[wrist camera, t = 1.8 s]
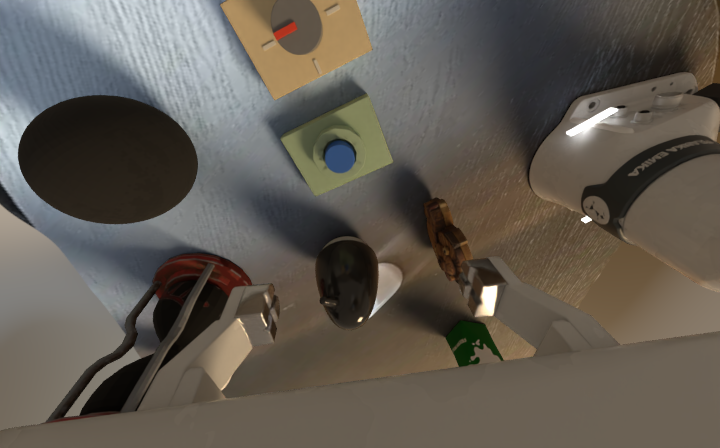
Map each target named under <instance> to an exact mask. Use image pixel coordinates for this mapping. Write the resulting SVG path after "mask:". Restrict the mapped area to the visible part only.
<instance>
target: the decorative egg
mask: <svg viewBox="0 0 720 448" xmlns="http://www.w3.org/2000/svg"><path fill="white" fill-rule="evenodd" d="M18 160H19V165H20V169H21V172H22V174H23V176H24V178H25V180H26V182H27V183H28V185H29V186H30V187H31V189H32V190H33V191H34V192H35V193H36V194H37V195H38V196H39V197H40V198H41V199H42V200H44V201H45V202H46V203H48V204H49V205H51V206H52V207H54V208H55V209H57V210H59V211H61V212H63V213H65V214H68V215H70V216H73V217H75V218H78V219H82V220H86V221H90V222H95V223H103V224H127V223H135V222H140V221H144V220H148V219H151V218H154V217H157V216H159V215H161V214H163V213H165V212H167V211H169V210H170V209H172V208H173V207H175V206H176V205H177V204H179V203H180V202H181V201H182V200H183V199H184V198H185V197H186V195H187V194H188V193H189V191H190V190H191V188H192V186H193V184H194V182H195V179H196V175H197V169H198V161H197V155H196V151H195V148H194V145H193V143H192V141H191V140H190V138H189V136H188V135H187V133H186V132H185V131H184V130H183V129H182V127H181V126H180V125H179V124H178V123H177V122H175V121H174V120H173V119H172V118H171V117H169V116H168V115H166V114H165V113H163V112H162V111H160V110H158V109H156V108H154V107H152V106H150V105H148V104H145V103H142V102H139V101H136V100H133V99H129V98H124V97H118V96H108V95H92V96H83V97H77V98H73V99H69V100H66V101H63V102H60V103H58V104H56V105H54V106H52V107H50V108H48V109H46V110H44V111H43V112H42V113H40V114H39V115H38V116H37V117H35V118H34V119H33V121H32V122H31V123H30V124H29V125H28V126H27V128H26V129H25V131H24V133H23V135H22V137H21V140H20V143H19V148H18Z"/></svg>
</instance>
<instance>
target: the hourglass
mask: <svg viewBox="0 0 720 448" xmlns="http://www.w3.org/2000/svg"><path fill="white" fill-rule="evenodd" d="M152 282H153V285H152V286H151V287H150V288H149V290H148V291H147V292H146V293H145V295H144V296H143V297H142V299H141V300H140V301H139V302H138V304H137V305H136V306H135V308H134V309H133V310H132V311H131V313H130V314H129V315H128V317H127V318H126V322H125V329H126V333H127V334H126V336H125V338H124V340H123V343H122V344H121V345H120V346H119V347H118V348H117V349H116V350H115V351H114V352H113V353H111V354H109V355H107V356H105V357H103V358H101V359H99V360H98V361H96V362H95V363H94V364H93V365H91V366H90V367H89V368H88V369H86V371H85V372H84V373H83V375H82V376H81V377H80V378H79V380H78V381H77V382H76V383H75V385H74V386H73V387H72V389H71V390H70V391H69V393H68V394H67V395H66V396H65V398H64V399H63V400H62V402H61V403H60V404H59V405H58V407H57V408H56V409H55V411H54V412H53V413H52V414H51V416H50V417H49V418H48V420H47V421H46V422H45V423H52V422H60V421H67V420H74V419H82V418H89V417H96V416H104V415H111V414H118V413H126V412H133V411H137V409H138V408H139V406H140V404H141V402H142V400H143V398H144V397H145V395H146V393H147V391H148V389H149V387H150V386H151V384H152V382H153V380H154V378H155V376H156V374H157V373H158V371H159V370H160V369H161V368H163V367H164V366H165V365H166V364H167V363H168V362H169V361H170V360H172V359H173V358H174V357H175V356H176V355H177V354H178V353H180V352H181V351H182V350H183V349H184V348H185V347H186V346H187V345H189V344H190V343H191V342H192V341H193V340H194V339H195V338H196V337H198V336H199V335H200V334H201V333H202V332H203V331H204V330H206V329H207V328H208V327H209V326H210V325H211V324H212V323H213V322H215V321H217V320H220V317H221V315H222V313H223V310H224V308H225V305H226V303H227V301H228V298H229V296H230V293H231V291H232V289H233V288H234V287H238V286H247V285H252V283H251V280H250V278H249V277H248V276H247V275H246V274H245V272H244V271H243V270H242V269H240V268H239V267H238V266H236V265H235V264H233V263H232V262H230V261H228V260H225V259H222V258H220V257H217V256H214V255H208V254H201V253H192V254H182V255H179V256H176V257H173V258H170V259H169V260H168V261H166V262H165V263H164V264H163V265H161V266H160V268H159V269H158V270H157V271H156V274H155V276H154V278H153V281H152ZM154 294H156V295H157V297H158V298H159V301H158V303H157V305H156V307H155V310H154V312H153V323H154V328H155V331H156V334H157V336H158V338H159V340H160V342H161V344H160V345H159V347H158V348H157V350H156V352H155V353H154V354H152V355H149V356H146V357H144V358H141V359H139V360H137V361H135V362H133V363H131V364H129V365H126V366H124V367H123V368H121V369H120V370H119V371H117V372H116V373H114V374H113V375H112V376H110V377H109V378H108V379H106V380H105V381H103V383H102V384H101V385H100V386H99V387H98V388H97V389H96V391H95V392H94V393H93V394H92V395H91V397H90V398H89V400H88V401H87V402H86V404H85V405H84V407H83V408H82V410H81V413H80V415H79V416H72V417H64V416H65V415H66V413H67V412H68V410H69V409H70V408H71V406H72V405H73V404H74V402H75V401H76V400H77V398H78V397H79V396H80V394H81V393H82V392H83V390H84V389H85V387H86V386H87V385H88V383H89V382H90V381H91V379H92V378H93V377H94V375H95V374H96V373H97V372H98V371H100V370H101V369H102V368H103V367H105V366H106V365H107V364H109V363H111V362H113V361H116V360H118V359H120V358H121V357H122V356H123V355H125V354H126V353H127V352H128V351H129V350H130V349H131V348H132V347H133V346H134V344H135V341H136V338H137V335H138V333H137V330H136V328H135V324H136V318H137V317H138V316H139V314H140V313H141V312H142V310H143V309H144V308H145V306H146V305H147V304H148V302H149V301H150V299H151V298H152V297H153V295H154ZM45 423H41V424H45Z"/></svg>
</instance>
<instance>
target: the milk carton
mask: <svg viewBox="0 0 720 448" xmlns="http://www.w3.org/2000/svg"><path fill="white" fill-rule="evenodd" d="M446 340H447V342H448V344H449V346H450V348H451V350H452V352H453V354H454V356H455V358H456V360H457V363H458V365H459V367H462V366H469V365H477V364H484V363H491V362H499V361H504V360H503V358H502V356H501V354H500V353H499V351H498V349H497V347H496V346H495V344H494V342H493V340H492V338H491V336H490V334H489V332H488V329H487V327H486V325H485V324H479V323H473V322H467V321H462V320H460V321H459V322H458V324H457V325H456V326H455V327H454V328H453V330H452V331H451V332H450V333H449V334H448V335H447V337H446Z"/></svg>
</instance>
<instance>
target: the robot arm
mask: <svg viewBox="0 0 720 448" xmlns="http://www.w3.org/2000/svg"><path fill="white" fill-rule="evenodd" d="M590 103H591V105H590ZM589 105H590V106H589ZM718 132H720V84H717V83H712V84H711V85H709V86H707V87H705V88H703V89H701V90H699V91H698V86H697V81H696V79H695V77H694V75H693V74H692V73H688V72H680V73H676V74H671V75H667V76H663V77H659V78H655V79H651V80H647V81H643V82H639V83H634V84H630V85H626V86H622V87H618V88H614V89H610V90H606V91H602V92H598V93H593V94H589V95H585V96H581V97H579V98H577V99H576V100H575V101H574V102H573V103H572V104H571V106H570V107H569V109H568V111H567V112H566V114H565V116H564V118H563V120H562V121H561V123H560V124H559V125H558V126H557V127H556V128H555V129H554V130H553V131H552V132H551V133H550V134H549V136H548V137H547V138H546V139H545V140H544V141H543V143H542V144H541V146H540V147H539V149H538V150H537V152H536V154H535V156H534V158H533V161H532V164H531V167H530V173H529V180H530V185H531V188H532V190H533V191H534V193H535V194H536V195H537V196H539V197H540V198H542V199H545V200H548V201H552V202H555V203H558V204H560V205H563V206H565V207H567V208H569V209H571V210H574V211H577V212H579V213H581V214H583V215H585V216H587V217H585V218H583V219H582V221H583V222H585V223H586V222H588V221H591V220H592V221H593V222H595V223H596V224H597V225H598V226H600V227H601V228H603V229H604V230H606V231H607V232H609V233H610V234H612V235H614V236H615V237H617V238H618V239H620V240H622V241H624V242H626V243H627V244H631V245H637V246H639V247H640V248H642V249H643V250H645V251H646V252H648V253H650V254H651V255H653V256H655V257H656V258H658V259H659V260H661V261H662V262H664V263H665V264H667V265H669V266H670V267H672V268H673V269H675V270H677V271H678V272H680V273H681V274H683V275H685V276H686V277H688V278H689V279H691V280H692V281H694V282H696V283H697V284H699V285H701V286H703V287H705V288H707V289H710V290H713V291H716V292H720V144H719V143H717V142H716V140H717V135H718ZM461 269H462V272H461V273H460V274H459V278H458V284H459V289H460V292H461V293H462V295H463V297H465V298H466V299H468V300H469V301H468V306H469V308H470V310H471V312H472V313H473V315H474V317H485V316H495V317H496V318H497V319H499V320H500V321H501V322H502V323H504V324H505V325H506V326H508V327H509V328H510V329H512V330H513V331H514V332H515V333H517V334H518V335H519V336H521V337H522V338H523V339H525V340H526V341H527V342H528V343H530V344H531V345H532V346H534V347H535V348H536V349H537V350H536V352H535V354H534V356H533V357H528V358H521V359H513V360H506V361H499V362H491V363H484V364H477V365H469V366H462V367H455V368H448V369H440V370H433V371H426V372H418V373H411V374H404V375H397V376H389V377H382V378H375V379H367V380H360V381H353V382H346V383H338V384H331V385H324V386H316V387H309V388H302V389H294V390H287V391H280V392H272V393H265V394H258V395H250V396H243V397H236V398H228V399H227V398H226V397H225V396H224V394H223V393H222V392H221V389H222V388H223V386H224V385H225V384H226V382H227V381H228V380H229V378H230V377H231V376H232V374H233V373H234V372H235V370H236V369H237V368H238V366H239V365H240V364H241V363H242V361H243V360H244V359H245V357H246V356H247V355H248V353H249V352H250V351H251V349H252V348H253V346H259V345H265V344H272V343H274V340H275V335H276V330H277V328H276V325H275V322H276V321H277V320H278V319H279V314H280V304H279V300H278V297H277V296H276V295H274V291H275V288H274V286H273V284H272V283H268V284H257V285H247V286H238V287H234V288H233V289H232V291H231V293H230V296H229V298H228V301H227V303H226V305H225V308H224V310H223V313H222V315H221V317H220V320H217V321H215V322H213V323H212V324H211V325H210V326H209V327H208V328H207V329H206V330H204V331H203V332H202V333H201V334H200V335H199V336H198V337H196V338H195V339H194V340H193V341H192V342H191V343H190V344H189V345H187V346H186V347H185V348H184V349H183V350H182V351H181V352H180V353H178V354H177V355H176V356H175V357H174V358H173V359H172V360H170V361H169V362H168V363H167V364H166V365H165V366H164V367H163V368H161V369H160V370H159V371H158V373H157V374H156V376H155V378H154V380H153V382H152V384H151V386H150V387H149V389H148V391H147V393H146V395H145V397H144V398H143V400H142V402H141V404H140V406H139V408H138V409H137V411H133V412H126V413H118V414H111V415H104V416H96V417H89V418H82V419H74V420H67V421H60V422H52V423H45V424H37V425H29V426H21V427H14V428H9V429H5V430H1V431H0V448H720V331H719V332H711V333H704V334H696V335H689V336H681V337H674V338H667V339H659V340H652V341H645V342H638V343H630V344H623V345H620V344H619V343H618V342H617V341H616V340H615V339H614V338H613V337H612V336H611V335H610V334H609V333H608V332H607V331H606V330H605V329H604V328H603V327H602V326H601V325H600V324H599V323H598V322H597V321H596V320H595V319H594V318H593V317H592V316H591V315H589V314H587V313H585V312H583V311H581V310H579V309H577V308H575V307H573V306H571V305H569V304H567V303H565V302H563V301H561V300H559V299H557V298H555V297H553V296H551V295H549V294H547V293H545V292H543V291H541V290H539V289H537V288H535V287H533V286H531V285H529V284H527V283H522V282H521V281H520V280H519V279H518V278H517V277H516V275H515V274H514V273H513V272H512V271H511V270H510V268H509V267H508V266H507V265H506V264H505V263H504V261H503V260H502V259H501V258H500V257H498V256H495V257H488V258H480V259H472V260H464V261H463V262H462V263H461Z"/></svg>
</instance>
